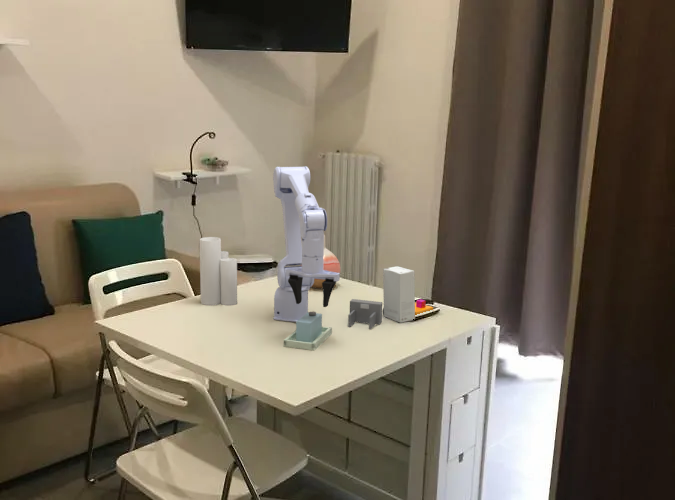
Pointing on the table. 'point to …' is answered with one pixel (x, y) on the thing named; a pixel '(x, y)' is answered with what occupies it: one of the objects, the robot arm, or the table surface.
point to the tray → (292, 342)
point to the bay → (365, 312)
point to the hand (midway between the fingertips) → (312, 304)
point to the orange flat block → (421, 307)
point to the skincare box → (399, 293)
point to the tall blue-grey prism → (309, 327)
